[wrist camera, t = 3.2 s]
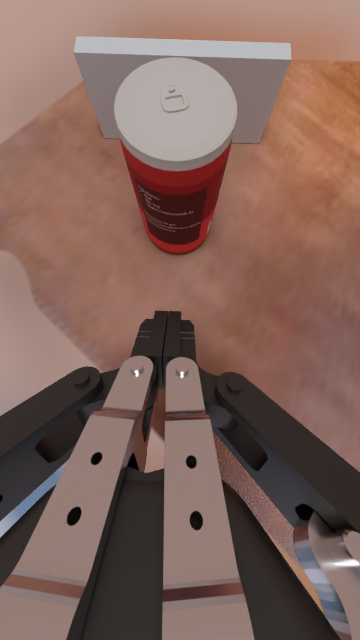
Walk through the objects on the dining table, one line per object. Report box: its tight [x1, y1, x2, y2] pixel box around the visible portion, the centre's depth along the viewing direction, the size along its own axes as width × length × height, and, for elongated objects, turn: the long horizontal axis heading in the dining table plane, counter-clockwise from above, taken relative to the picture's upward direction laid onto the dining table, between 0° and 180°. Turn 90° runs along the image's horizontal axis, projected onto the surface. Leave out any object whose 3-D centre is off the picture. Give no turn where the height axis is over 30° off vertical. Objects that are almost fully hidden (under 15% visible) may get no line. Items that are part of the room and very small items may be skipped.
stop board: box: [74, 36, 291, 144], centre depth 21 cm, size 20×7×7 cm, turn 88°
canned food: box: [114, 57, 237, 254], centre depth 17 cm, size 8×8×11 cm
